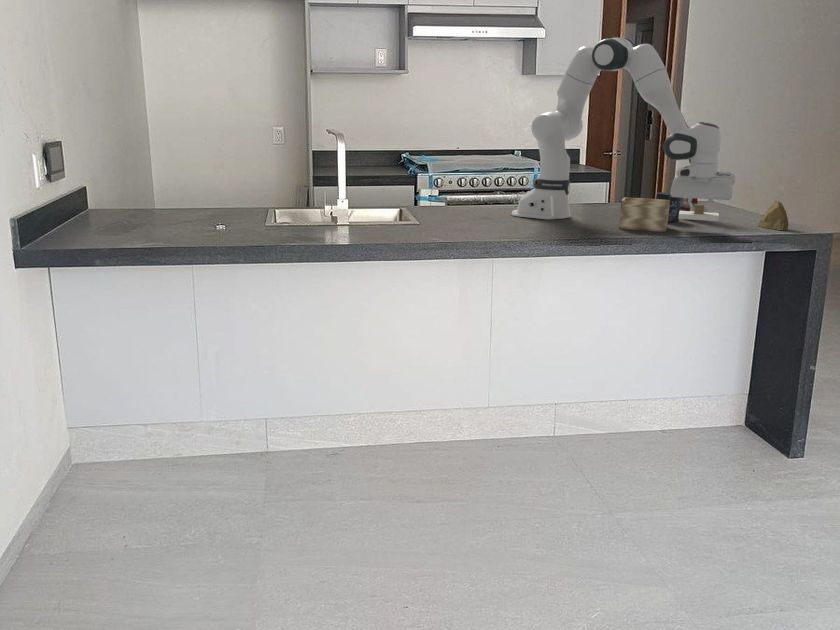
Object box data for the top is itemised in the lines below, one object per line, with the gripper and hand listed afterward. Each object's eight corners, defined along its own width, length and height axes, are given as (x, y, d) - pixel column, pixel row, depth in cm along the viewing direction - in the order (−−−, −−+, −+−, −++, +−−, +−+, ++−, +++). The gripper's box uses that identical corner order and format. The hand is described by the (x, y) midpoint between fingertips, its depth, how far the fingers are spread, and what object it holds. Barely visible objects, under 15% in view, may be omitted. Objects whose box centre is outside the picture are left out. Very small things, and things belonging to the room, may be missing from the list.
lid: (678, 218, 275) (679, 205, 273) (679, 215, 282) (680, 202, 281) (718, 221, 270) (719, 207, 269) (718, 217, 278) (719, 204, 277)
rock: (797, 225, 280) (790, 217, 289) (786, 206, 278) (778, 198, 287) (768, 242, 284) (762, 233, 293) (757, 223, 282) (750, 215, 291)
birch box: (618, 228, 281) (621, 200, 279) (621, 224, 290) (624, 197, 288) (665, 231, 276) (668, 203, 274) (667, 227, 285) (670, 200, 283)
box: (665, 223, 295) (668, 194, 292) (653, 220, 299) (656, 192, 296) (679, 221, 299) (682, 193, 296) (667, 219, 303) (670, 191, 300)
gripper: (735, 171, 271) (730, 212, 275) (673, 169, 278) (669, 208, 282) (736, 173, 266) (731, 214, 270) (672, 170, 272) (668, 211, 276)
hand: (699, 211), depth 276 cm, fingers closed on lid, 3 cm apart
